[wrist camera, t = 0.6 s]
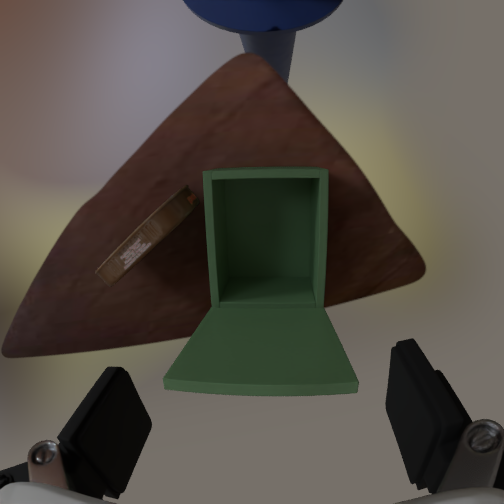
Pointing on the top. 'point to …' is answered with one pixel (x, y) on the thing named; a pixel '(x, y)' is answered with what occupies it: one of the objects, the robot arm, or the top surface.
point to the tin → (148, 235)
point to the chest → (266, 236)
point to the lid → (263, 355)
